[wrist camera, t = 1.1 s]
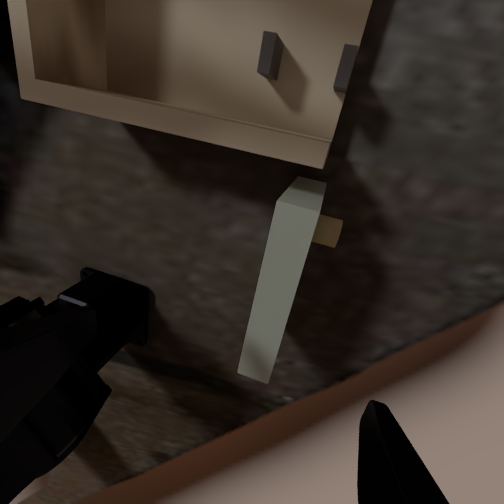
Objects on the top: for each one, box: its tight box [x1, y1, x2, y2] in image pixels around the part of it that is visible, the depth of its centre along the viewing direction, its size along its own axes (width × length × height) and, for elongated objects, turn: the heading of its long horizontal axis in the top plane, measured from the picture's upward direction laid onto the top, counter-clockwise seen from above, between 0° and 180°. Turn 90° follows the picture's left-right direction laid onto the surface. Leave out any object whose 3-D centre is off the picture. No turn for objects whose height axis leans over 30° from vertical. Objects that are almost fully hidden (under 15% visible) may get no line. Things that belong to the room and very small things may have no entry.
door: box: [237, 176, 343, 384], centre depth 17 cm, size 10×3×7 cm, turn 169°
